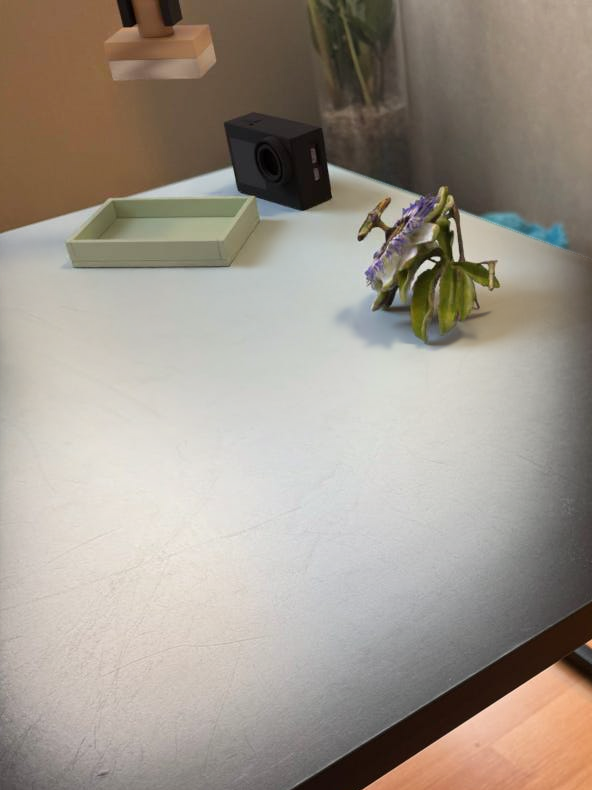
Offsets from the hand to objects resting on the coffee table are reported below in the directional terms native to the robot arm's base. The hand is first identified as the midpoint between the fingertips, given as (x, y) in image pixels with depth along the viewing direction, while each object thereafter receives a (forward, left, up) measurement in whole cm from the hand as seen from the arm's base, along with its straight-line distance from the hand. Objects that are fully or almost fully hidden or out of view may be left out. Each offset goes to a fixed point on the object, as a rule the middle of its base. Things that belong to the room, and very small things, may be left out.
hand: (153, 22), depth 88 cm
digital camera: (+6, +9, -18) cm, 21 cm away
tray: (-2, -3, -18) cm, 18 cm away
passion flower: (+26, -18, -18) cm, 36 cm away
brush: (0, 0, -4) cm, 4 cm away
